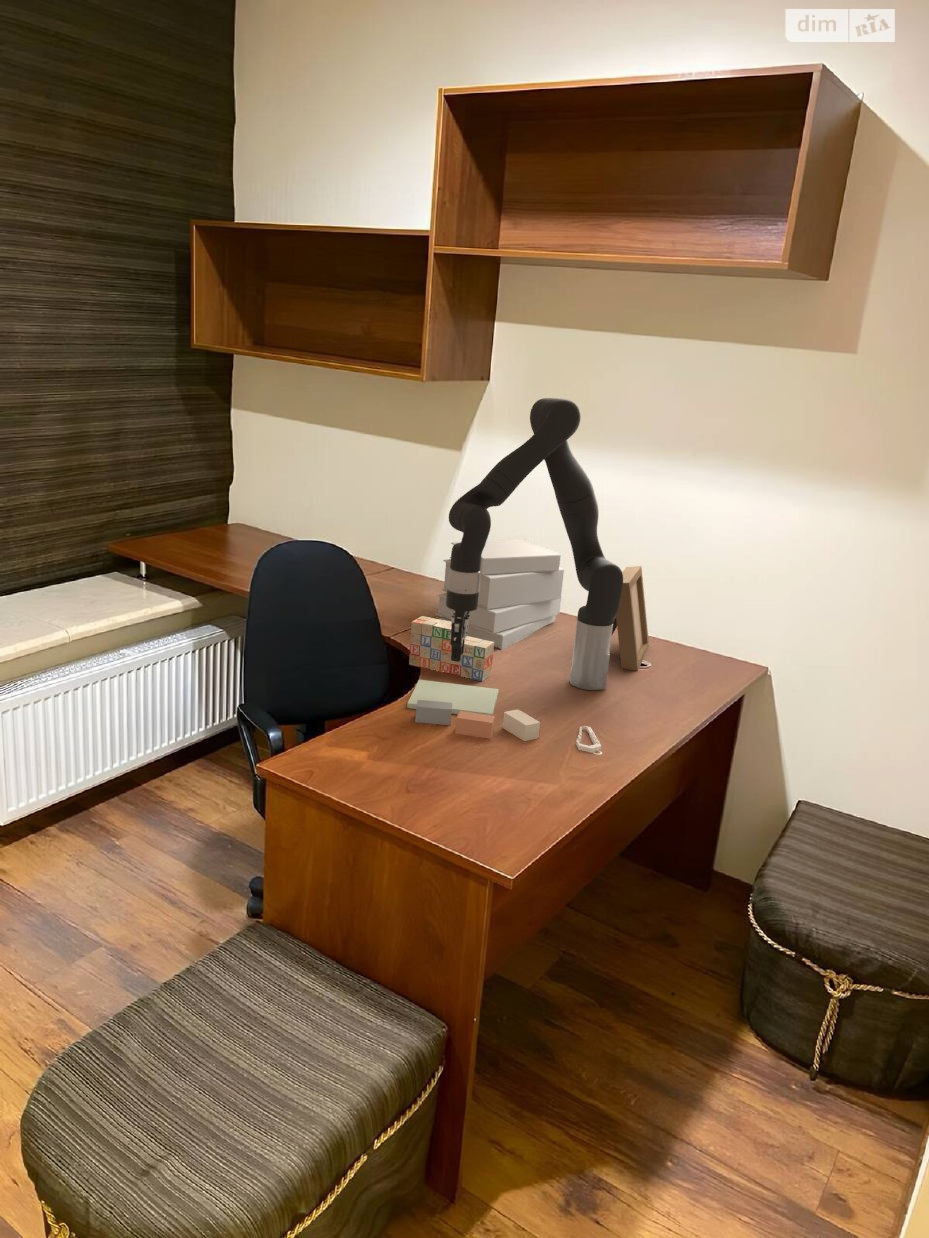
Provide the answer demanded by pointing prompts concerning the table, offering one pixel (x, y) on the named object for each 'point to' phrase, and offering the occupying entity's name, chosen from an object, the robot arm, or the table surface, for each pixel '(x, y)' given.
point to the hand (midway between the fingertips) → (457, 656)
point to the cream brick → (521, 725)
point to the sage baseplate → (456, 696)
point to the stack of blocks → (448, 650)
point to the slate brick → (433, 712)
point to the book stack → (512, 592)
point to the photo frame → (632, 620)
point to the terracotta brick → (475, 724)
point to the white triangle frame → (594, 739)
